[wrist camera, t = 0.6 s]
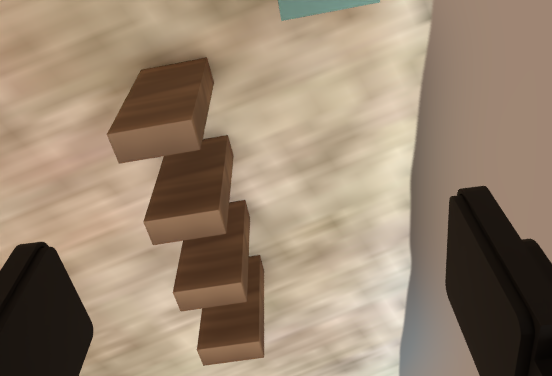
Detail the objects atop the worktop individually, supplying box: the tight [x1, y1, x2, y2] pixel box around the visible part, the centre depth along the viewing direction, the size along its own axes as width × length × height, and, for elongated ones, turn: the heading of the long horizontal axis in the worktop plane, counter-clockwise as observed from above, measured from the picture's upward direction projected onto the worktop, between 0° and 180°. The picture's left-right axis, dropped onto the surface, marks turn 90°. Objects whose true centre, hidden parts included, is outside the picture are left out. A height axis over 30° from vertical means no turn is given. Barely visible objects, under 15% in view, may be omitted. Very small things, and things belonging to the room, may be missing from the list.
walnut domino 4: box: [197, 255, 264, 366], centre depth 45 cm, size 2×5×10 cm, turn 100°
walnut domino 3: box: [173, 200, 250, 311], centre depth 41 cm, size 2×5×10 cm, turn 100°
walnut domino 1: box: [107, 58, 214, 164], centre depth 34 cm, size 2×5×10 cm, turn 100°
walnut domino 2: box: [144, 135, 233, 245], centre depth 37 cm, size 2×5×10 cm, turn 101°
